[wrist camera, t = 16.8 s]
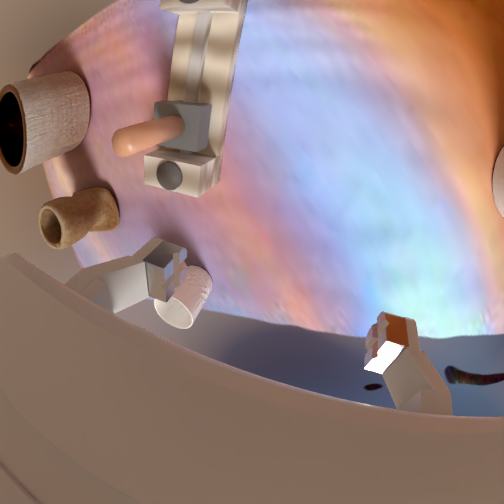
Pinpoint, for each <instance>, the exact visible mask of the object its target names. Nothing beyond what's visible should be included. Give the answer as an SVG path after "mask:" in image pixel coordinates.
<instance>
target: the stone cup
mask: <svg viewBox="0 0 504 504" xmlns="http://www.w3.org/2000/svg"><path fill="white" fill-rule="evenodd" d="M119 221H120V220H119V212H118V208H117V205H116V202H115V199H114V198H113V196H112V195H111V193H110V191H109V190H107V189H106V188H99V187H95V188H89V189H85V190H82V191H78V192H75V193H73V196H72V197H60V198H56V199H54V200H51V201H49V202H47V203H45V204H44V205H43V206H42V207H41V209H40V212H39V217H38V223H39V229H40V233H41V235H42V237H43V239H44V240H45V242H46V243H47V244H48V245H49V246H50V247H51V248H54V249H63V248H66V247H69V246H70V245H72V244H74V243H76V242H77V241H79V240H80V239H82V238H83V237H84V236H85V235H86V234H87V233H88V231H110V230H114V229H116V228H117V227H118V226H119Z"/></svg>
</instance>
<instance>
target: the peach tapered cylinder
mask: <svg viewBox="0 0 504 504" xmlns="http://www.w3.org/2000/svg"><path fill="white" fill-rule="evenodd" d="M211 110H212V105H210V104H209V103H192V102H183V101H182V100H176V101H169V100H166V101H160V102H155V105H154V119H153V120H150V121H147V122H143V123H139V124H135V125H132V126H128V127H125V128H121V129H118V130H117V131H116V132H115V133H114V135H113V138H112V146H113V149H114V151H115V152H116V154H117V155H119V156H121V157H127V156H129V155H132V154H134V153H137V152H139V151H141V150H144V149H146V148H149V147H152V146H154V145H159V146H165V147H171V148H177V149H182V150H188V151H193V152H198V151H200V150H202V149H205V148H207V143H208V134H209V126H210V118H211Z"/></svg>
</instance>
